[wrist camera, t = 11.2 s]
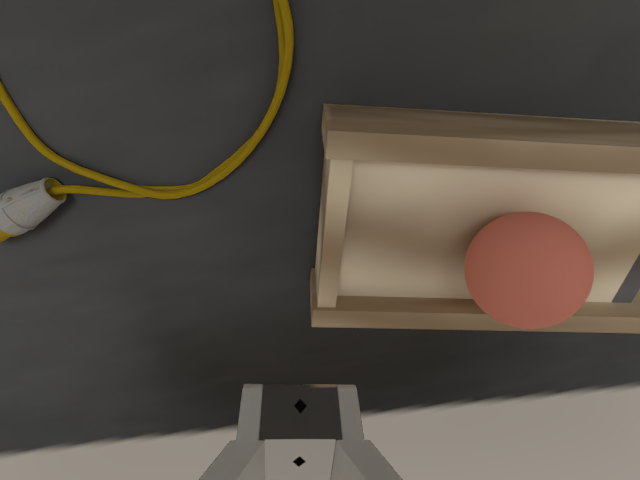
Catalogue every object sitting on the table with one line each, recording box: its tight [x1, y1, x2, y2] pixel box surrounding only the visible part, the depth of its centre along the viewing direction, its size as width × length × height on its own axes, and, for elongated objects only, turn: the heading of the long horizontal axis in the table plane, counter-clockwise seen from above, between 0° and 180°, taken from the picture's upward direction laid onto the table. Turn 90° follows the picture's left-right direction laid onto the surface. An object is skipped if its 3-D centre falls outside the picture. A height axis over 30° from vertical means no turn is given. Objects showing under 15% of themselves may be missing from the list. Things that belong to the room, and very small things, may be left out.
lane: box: [310, 103, 640, 333], centre depth 18 cm, size 9×24×6 cm, turn 86°
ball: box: [464, 212, 594, 329], centre depth 16 cm, size 4×4×4 cm
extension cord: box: [0, 0, 294, 243], centre depth 15 cm, size 12×16×2 cm
